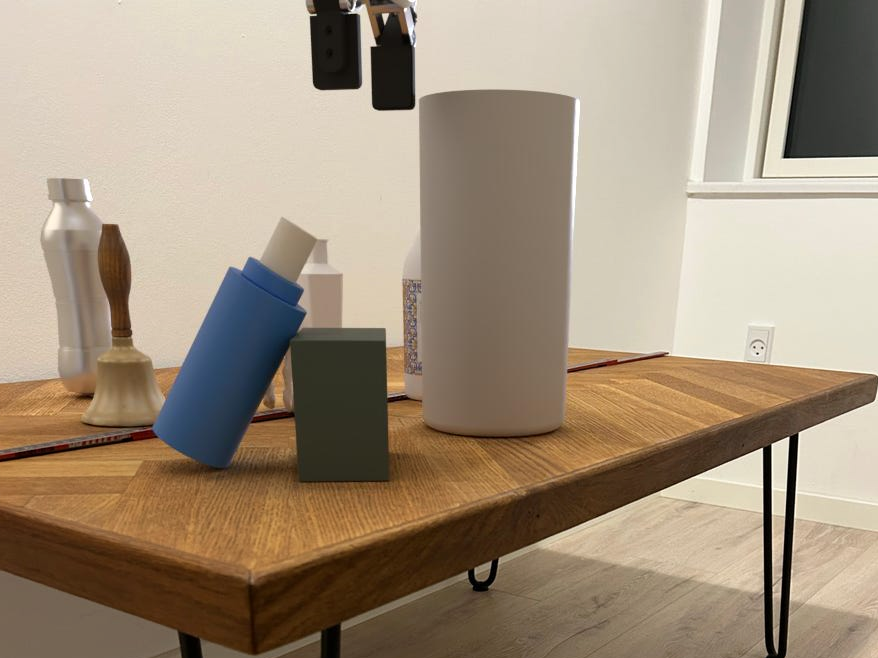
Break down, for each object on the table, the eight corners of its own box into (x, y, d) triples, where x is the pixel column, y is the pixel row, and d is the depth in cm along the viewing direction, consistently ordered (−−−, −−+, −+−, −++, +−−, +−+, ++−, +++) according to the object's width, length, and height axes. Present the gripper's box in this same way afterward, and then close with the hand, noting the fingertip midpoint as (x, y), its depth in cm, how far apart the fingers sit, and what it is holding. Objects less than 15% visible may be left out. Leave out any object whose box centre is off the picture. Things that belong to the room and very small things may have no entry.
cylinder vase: (451, 442, 76) (451, 84, 66) (404, 417, 86) (398, 106, 77) (589, 433, 80) (608, 96, 70) (528, 411, 91) (537, 116, 81)
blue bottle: (148, 474, 64) (118, 211, 57) (166, 458, 69) (140, 214, 62) (324, 475, 65) (313, 216, 58) (328, 458, 70) (319, 218, 64)
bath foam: (423, 391, 103) (421, 187, 95) (481, 395, 100) (484, 186, 92) (392, 399, 97) (387, 183, 89) (453, 404, 94) (453, 182, 86)
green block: (298, 481, 62) (289, 340, 59) (309, 451, 72) (302, 327, 68) (389, 481, 63) (385, 340, 60) (388, 451, 72) (385, 327, 69)
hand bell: (165, 409, 89) (144, 225, 83) (191, 422, 83) (171, 224, 77) (72, 416, 85) (43, 223, 79) (93, 430, 79) (62, 221, 72)
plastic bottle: (69, 391, 99) (37, 180, 92) (136, 390, 101) (110, 182, 93) (55, 400, 94) (20, 176, 86) (126, 399, 95) (98, 178, 87)
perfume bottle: (343, 410, 90) (336, 239, 84) (356, 417, 86) (349, 239, 80) (295, 412, 88) (285, 238, 83) (306, 420, 85) (296, 238, 79)
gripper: (358, -158, 67) (366, 117, 73) (231, -281, 51) (255, 81, 58) (459, -169, 65) (458, 115, 71) (359, -300, 49) (369, 77, 56)
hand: (367, 100), depth 64 cm, fingers open, 9 cm apart
